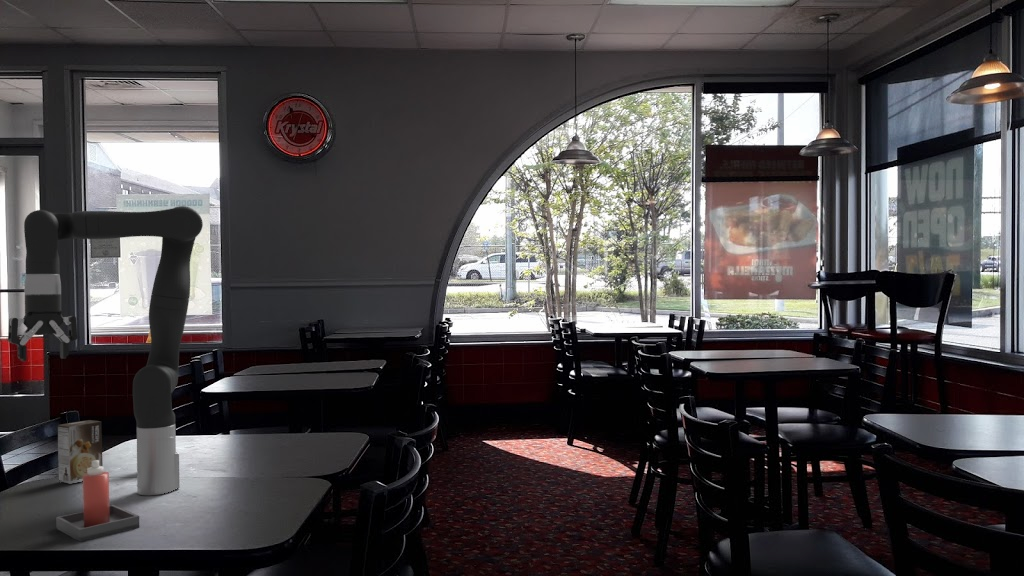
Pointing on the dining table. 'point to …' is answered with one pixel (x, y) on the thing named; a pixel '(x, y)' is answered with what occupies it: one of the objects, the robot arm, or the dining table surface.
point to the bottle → (96, 495)
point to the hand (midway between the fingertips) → (43, 359)
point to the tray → (118, 523)
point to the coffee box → (78, 448)
